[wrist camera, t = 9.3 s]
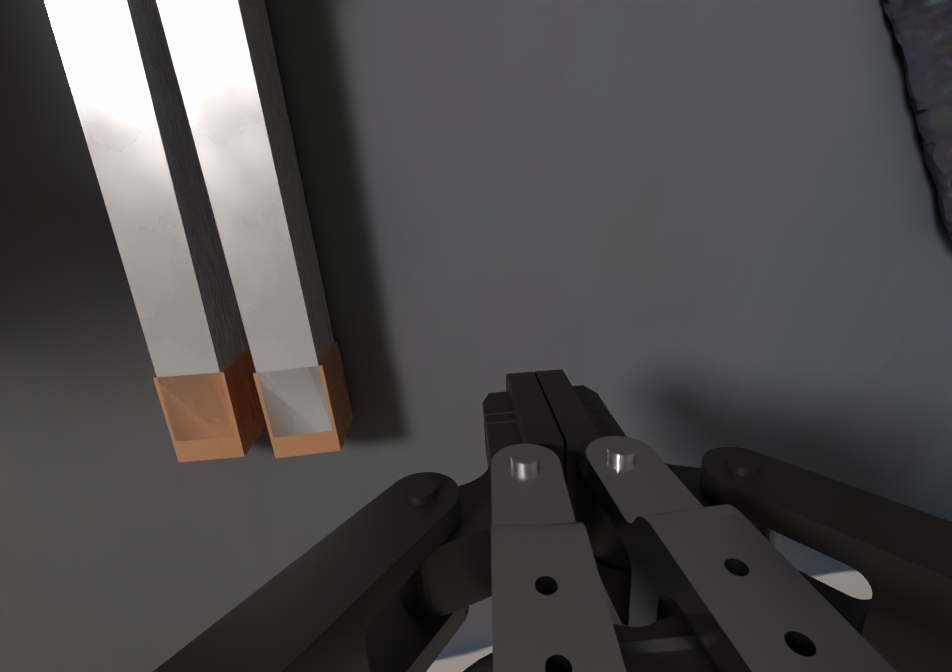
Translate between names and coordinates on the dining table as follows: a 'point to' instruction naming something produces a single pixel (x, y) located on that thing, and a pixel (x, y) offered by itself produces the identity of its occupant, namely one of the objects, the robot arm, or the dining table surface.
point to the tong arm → (261, 216)
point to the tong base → (162, 221)
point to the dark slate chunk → (929, 83)
